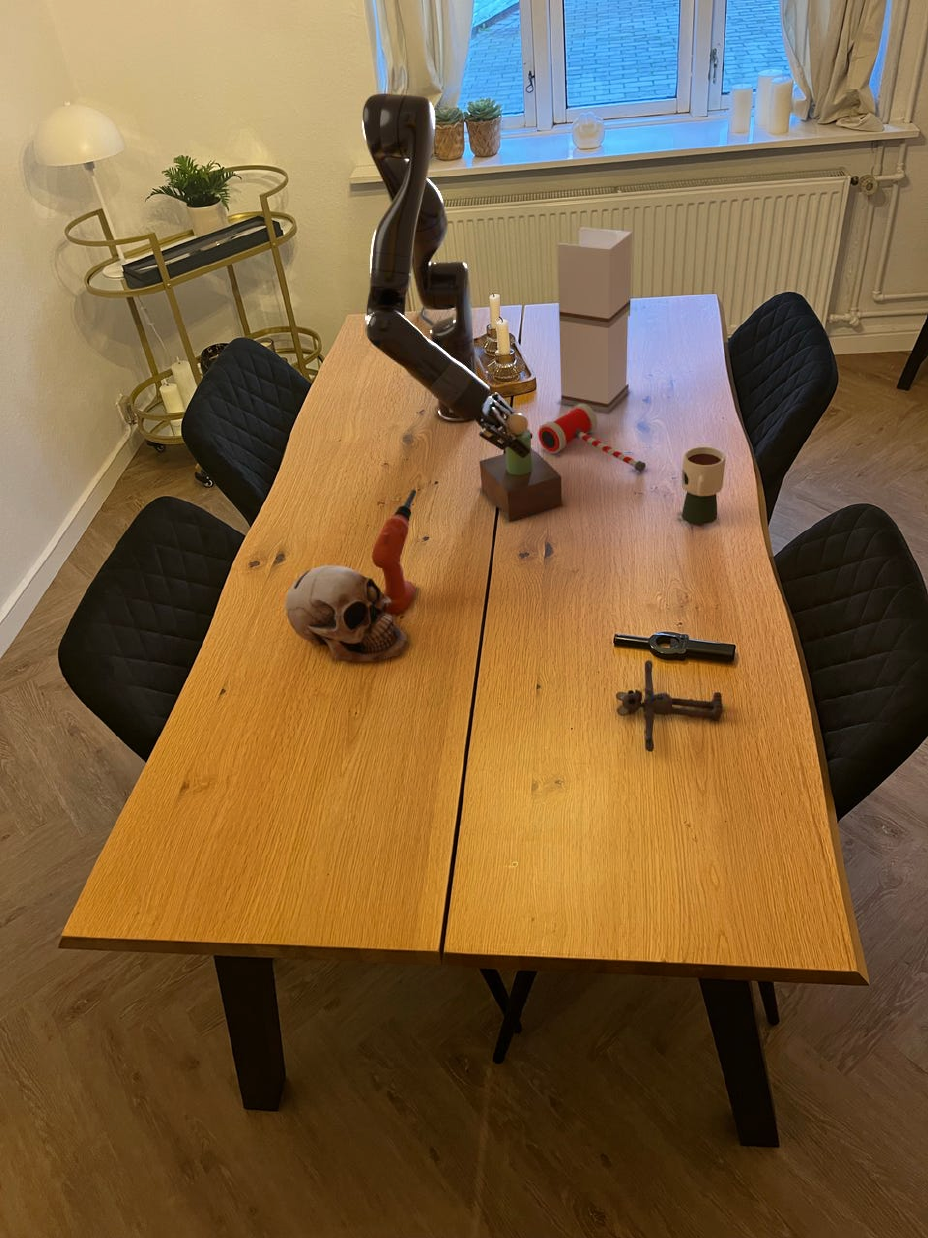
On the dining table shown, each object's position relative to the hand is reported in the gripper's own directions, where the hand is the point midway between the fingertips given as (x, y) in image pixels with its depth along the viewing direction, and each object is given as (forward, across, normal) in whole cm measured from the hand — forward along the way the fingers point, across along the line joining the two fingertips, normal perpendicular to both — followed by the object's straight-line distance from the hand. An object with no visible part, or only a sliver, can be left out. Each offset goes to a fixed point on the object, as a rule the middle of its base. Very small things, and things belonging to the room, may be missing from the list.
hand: (528, 446), depth 171 cm
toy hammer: (+16, +18, 0) cm, 24 cm away
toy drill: (-6, -27, +22) cm, 36 cm away
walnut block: (+7, 0, +9) cm, 11 cm away
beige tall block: (+16, +41, 0) cm, 44 cm away
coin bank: (-11, -42, +27) cm, 51 cm away
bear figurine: (+25, -57, -9) cm, 63 cm away
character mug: (+30, -7, -14) cm, 34 cm away
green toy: (+2, 0, +5) cm, 5 cm away
